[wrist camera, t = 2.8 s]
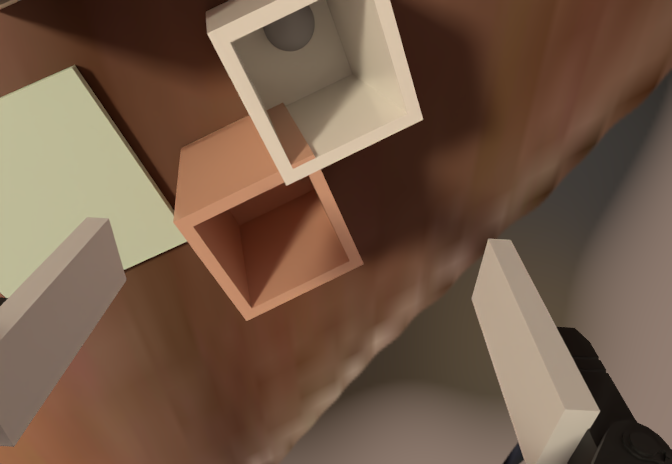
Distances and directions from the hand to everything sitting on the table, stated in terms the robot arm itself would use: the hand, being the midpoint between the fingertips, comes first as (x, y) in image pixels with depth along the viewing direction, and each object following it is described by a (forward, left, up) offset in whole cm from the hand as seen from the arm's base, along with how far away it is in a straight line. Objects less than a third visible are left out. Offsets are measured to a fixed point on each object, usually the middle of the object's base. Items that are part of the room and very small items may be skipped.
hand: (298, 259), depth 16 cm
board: (+16, 0, -19) cm, 25 cm away
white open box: (-4, -3, -19) cm, 20 cm away
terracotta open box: (+1, +4, -19) cm, 20 cm away
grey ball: (-4, -3, -18) cm, 18 cm away
